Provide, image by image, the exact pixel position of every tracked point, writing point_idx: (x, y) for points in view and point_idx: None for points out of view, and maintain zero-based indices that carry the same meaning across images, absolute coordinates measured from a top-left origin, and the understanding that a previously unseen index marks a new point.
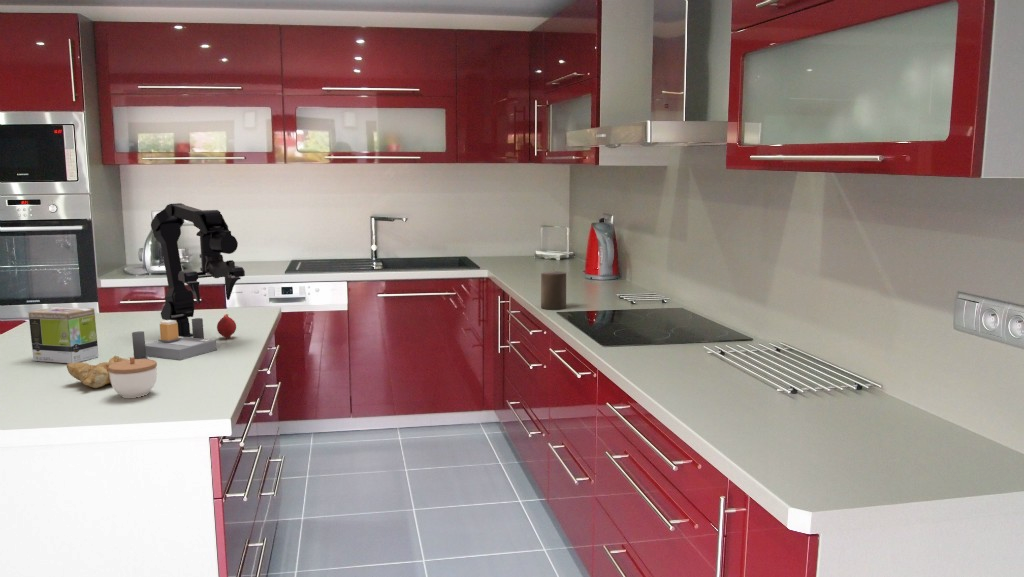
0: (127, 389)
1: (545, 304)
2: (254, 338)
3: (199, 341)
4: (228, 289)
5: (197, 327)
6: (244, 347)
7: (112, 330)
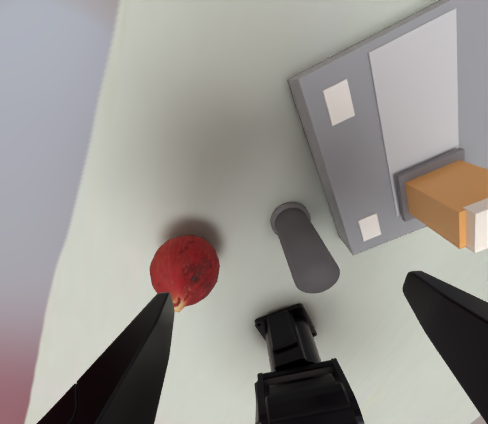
0: None
1: None
2: (108, 190)
3: (359, 107)
4: (128, 393)
5: (316, 239)
6: (179, 41)
7: None
